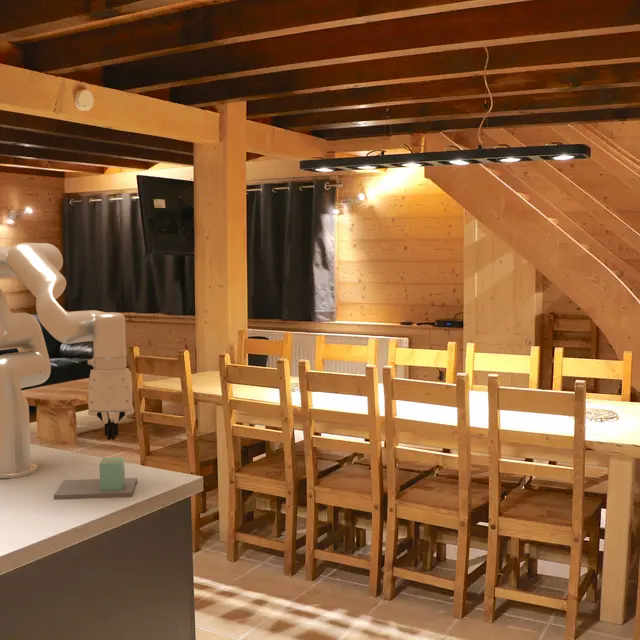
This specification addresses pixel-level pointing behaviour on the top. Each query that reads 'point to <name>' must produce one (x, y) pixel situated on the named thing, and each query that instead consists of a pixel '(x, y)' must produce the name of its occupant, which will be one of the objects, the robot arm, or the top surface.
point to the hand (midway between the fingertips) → (111, 438)
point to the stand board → (92, 489)
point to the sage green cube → (112, 473)
